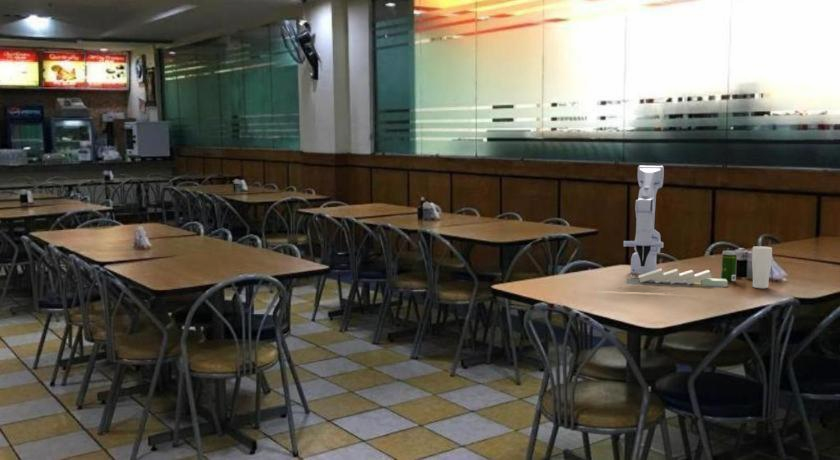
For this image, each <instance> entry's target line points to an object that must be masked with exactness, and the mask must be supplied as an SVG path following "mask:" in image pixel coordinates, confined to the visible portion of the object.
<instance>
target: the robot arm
mask: <svg viewBox="0 0 840 460" xmlns="http://www.w3.org/2000/svg"><path fill="white" fill-rule="evenodd" d="M664 172H665V169H664V165H641V164H640V165H638V167H637V181H638V187H639V190H638V191H639V192H638V197H637V198H638V199H636V200H635V205H634V206H635V207H634V210H635V218H636V220H635V221H636V223H635V224H636V225H635V226H636V227H635V237H634V240H623V247H634V251H635V252H634V253H632V255H631V259H630V273H631V274H637V275H642V274H645V273H648V272H651V271H654V270H657V254H659V253H660V252H661V249H663V248H664V242H663V241H661V238H662V237H661V233H660V232H659V231H657V230H656V229H655V217H656V215H655V214H656V203H657V202H656V199H657V192H658V190H659V189H661V188H663V185H664V177H665V176H664V174H665V173H664Z"/></svg>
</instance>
